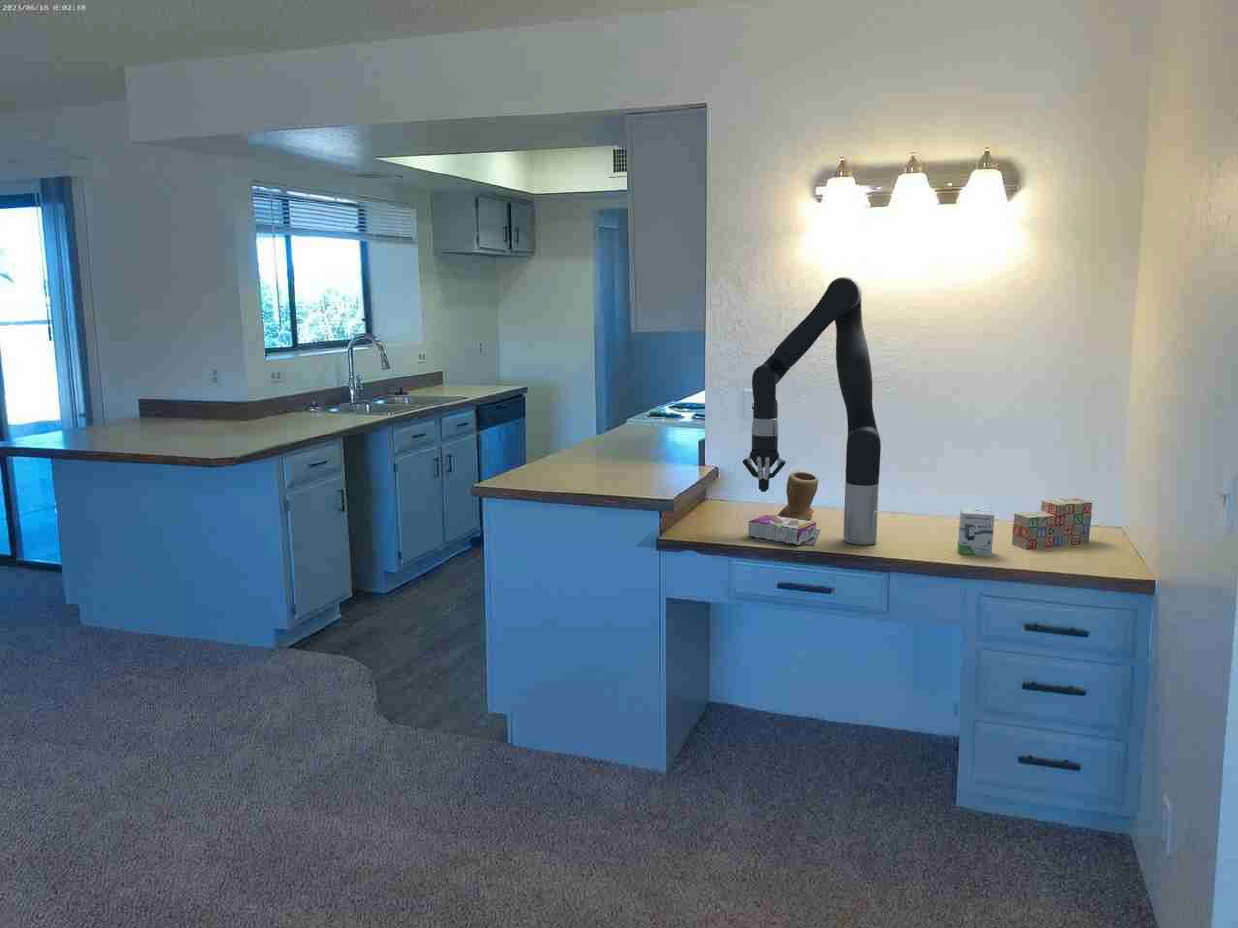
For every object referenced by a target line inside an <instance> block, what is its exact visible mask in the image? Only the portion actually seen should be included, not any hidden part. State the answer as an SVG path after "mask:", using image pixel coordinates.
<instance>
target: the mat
mask: <svg viewBox="0 0 1238 928" xmlns="http://www.w3.org/2000/svg"><path fill="white" fill-rule="evenodd" d="M820 533H821V528H816V538H814V539H811V540H809V541H806V542H804V543H801V544H799V545H798V546H811V547H815V545H816V543H817V541H818V540H817V539H818V538H819V535H820ZM754 538H755V539H754V540H753V542H755V543H756V542H757V543H767V544H769V543H770V544H782V545H791V544H790V543H783V542H778V541H773V540H767V539H761V538H756V537H754ZM794 545H795V544H793V546H794ZM795 546H796V545H795Z"/></svg>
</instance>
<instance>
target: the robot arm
mask: <svg viewBox="0 0 1238 928" xmlns="http://www.w3.org/2000/svg"><path fill="white" fill-rule="evenodd" d="M862 297H863V296H862V288H861V285H860V284H859V282H858V281H857V280H856V279H854V278H852V277H849V276H841V277H837V278H835V279H833V280H832V281H831V282H830V283H829V285H828V287H827V288H826V290H825V292H824V293H823V294H822V296H821V297H820V299H819V301H818V302H817V303H816V305H815V306H814V307H813V309H812V310H811V311H810V312H809V314H807V316H806V317H805V318H803V320H802V321H800V323H799V324H798V325H796V327H794V329H793V330H792V331H791V332H790V333H789V334H788V335H787V336H786V337H785V338H783V340H782V341H781V342H780V343H779V345H777V347H776V348H775V350H774V351H773V353H772V354H771V355H770V356H769V357H768V358H767V359H766V360H765V361H764V362H763V363H762V364H761V365H759V366H757V367H756V368H754V371H753V372H752V376H751V377H752V378H751V388H752V389H751V390H752V398H753V406H752V408H753V409H752V424H751V451H750V453H749V456H748V457H745V458H744V459H743V460H742V464H743V465H744V467H746V469H747V471H748V472H749V473H750V475H751V476H752V477H753V478H757V479H758V490H759V491H760V492H761V493H766V492H767V491H768V490H769V489H770V479H773V478H775V477H776V475H777V474H778V473H779V472H780V471H781V470H782V468H783V467H785V465H786V463H787V462H786V460H785V459H784V460H783V459H782V458H781V457H780V454H779V451H778V444H779V441H778V440H779V438H778V437H779V423H778V414H779V413H778V412H779V411H778V409H779V407H778V405H779V404H778V400H777V399H776V398H777V395H776V394H777V391H776V389H777V384H778V383H779V382H780V381H782V379H783V377H784V376H785V375H786V374H787V373H788V371H789V370H790V369H791V368H792V367H793V366H795V364H797V362H799V360H800V359H801V358H802V357H803V356H804V355H805V354H806V353H807V352H808V351H809V350H810V348H811V347H813V345H814V344H815V343H816V341H817V340H818V338H819V337H820V336H821V335H822V333H823V332H824V331H825V330H826V329H827V328H828V327H829V326H830V325H831V324H832V323H833V322H835V329H836V331H835V332H836V333H835V334H836V338H835V362H836V371H837V378H838V384H839V388H840V391H841V395H842V400H843V402H844V405H845V409H846V410H845V411H846V418H847V420H846V421H847V438H846V439H847V440H846V453H845V456H846V457H845V486H844V506H843V507H844V508H843V510H844V511H843V512H844V513H843V532H842V533H843V536H842V537H843V539H842V540H843V542H845V543H849V544H853V545H862V546H863V545H865V546H866V545H876V544H877V537H878V515H879V508H878V503H879V483H880V472H881V471H880V470H881V469H880V466H881V447H882V445H881V444H882V443H881V437H880V433H879V430H878V426H877V423H876V419H875V414H874V409H873V408H874V407H873V375H872V365H871V360H870V359H871V358H870V353H869V349H868V348H869V347H868V343H867V339H866V334H865V331H864V325H863V316H862V315H863V314H862V311H863V310H862ZM752 463H754V465H755V466H756V467H757V470H756V468H755V467H754V466H753V464H752ZM775 463H776V468H775V469H774V470H773V471H772V472H771V468H772V467H773V466H774V465H775Z"/></svg>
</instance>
